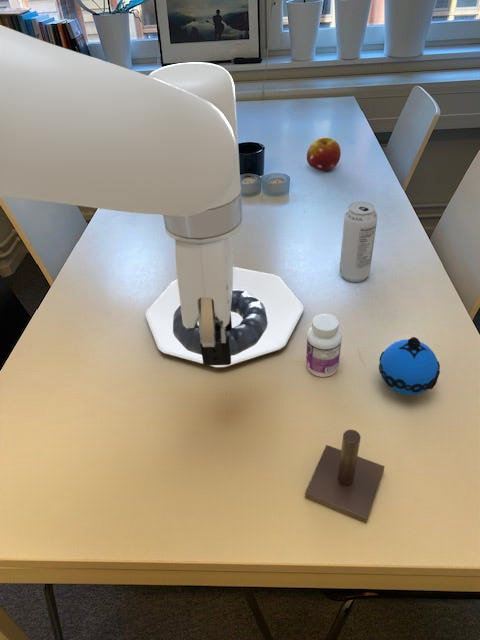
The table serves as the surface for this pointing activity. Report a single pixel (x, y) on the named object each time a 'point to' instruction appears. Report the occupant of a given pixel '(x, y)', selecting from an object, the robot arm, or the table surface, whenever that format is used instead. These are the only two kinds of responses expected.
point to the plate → (232, 316)
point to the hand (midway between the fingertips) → (218, 349)
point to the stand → (345, 479)
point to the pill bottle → (323, 345)
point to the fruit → (323, 154)
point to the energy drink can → (358, 241)
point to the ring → (238, 336)
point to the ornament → (409, 367)
